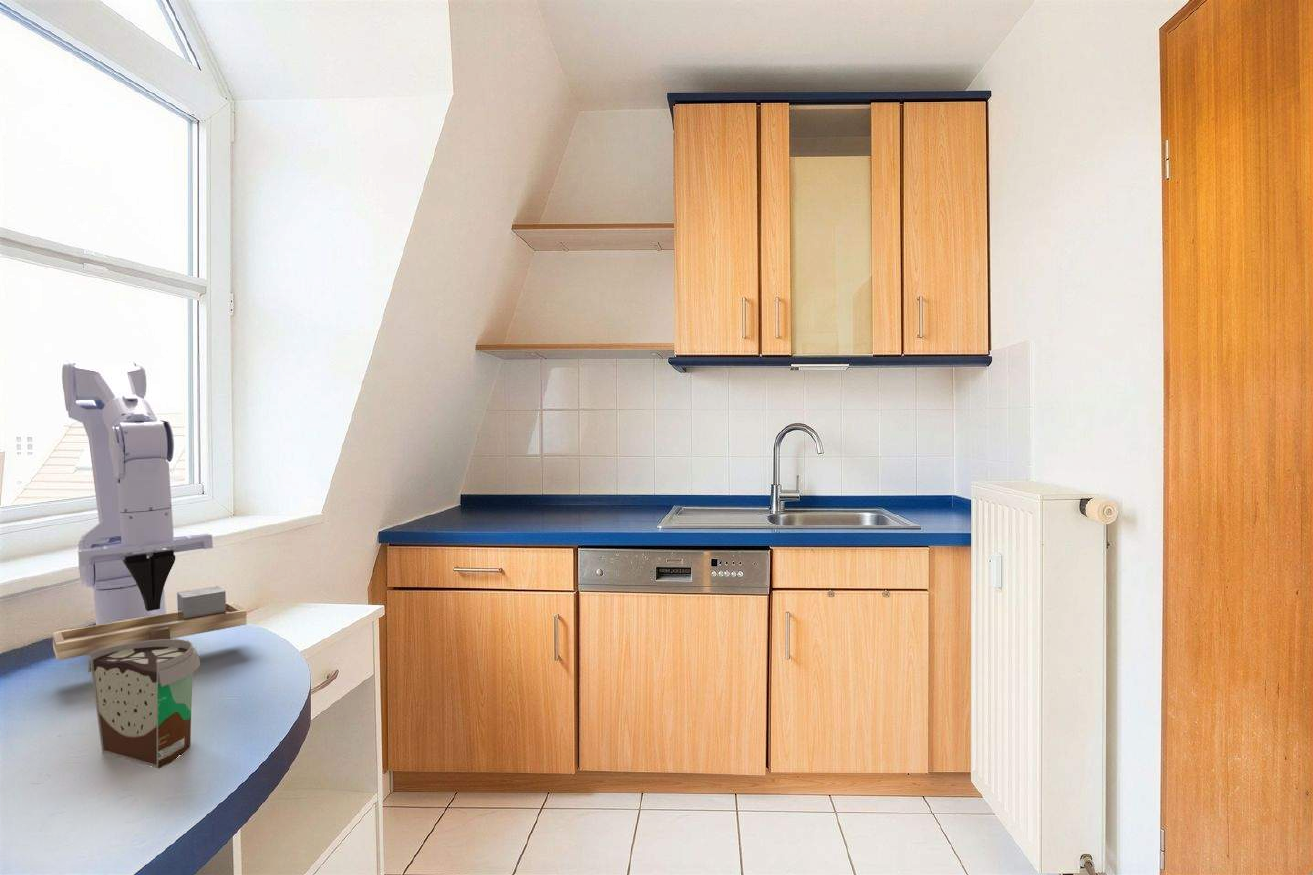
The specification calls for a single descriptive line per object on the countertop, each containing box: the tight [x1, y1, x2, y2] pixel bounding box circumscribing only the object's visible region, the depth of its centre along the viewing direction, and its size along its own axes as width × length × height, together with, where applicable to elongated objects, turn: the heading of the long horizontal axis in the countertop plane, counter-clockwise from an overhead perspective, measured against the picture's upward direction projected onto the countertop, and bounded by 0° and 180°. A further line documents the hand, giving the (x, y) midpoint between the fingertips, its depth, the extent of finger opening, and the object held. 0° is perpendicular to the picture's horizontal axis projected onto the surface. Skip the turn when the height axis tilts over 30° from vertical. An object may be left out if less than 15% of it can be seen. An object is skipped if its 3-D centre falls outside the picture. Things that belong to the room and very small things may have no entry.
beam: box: [52, 601, 248, 661], centre depth 93 cm, size 20×8×2 cm, turn 134°
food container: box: [87, 638, 201, 770], centre depth 68 cm, size 12×6×10 cm, turn 65°
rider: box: [176, 585, 227, 621], centre depth 97 cm, size 5×5×4 cm
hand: (152, 608), depth 93 cm, fingers closed
